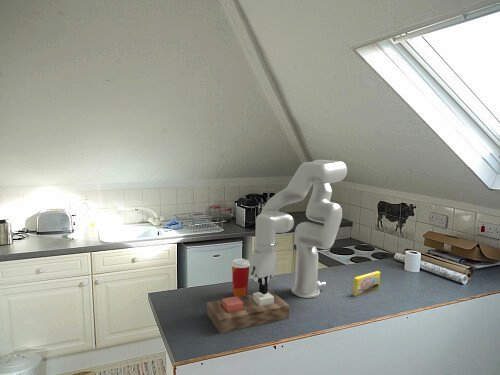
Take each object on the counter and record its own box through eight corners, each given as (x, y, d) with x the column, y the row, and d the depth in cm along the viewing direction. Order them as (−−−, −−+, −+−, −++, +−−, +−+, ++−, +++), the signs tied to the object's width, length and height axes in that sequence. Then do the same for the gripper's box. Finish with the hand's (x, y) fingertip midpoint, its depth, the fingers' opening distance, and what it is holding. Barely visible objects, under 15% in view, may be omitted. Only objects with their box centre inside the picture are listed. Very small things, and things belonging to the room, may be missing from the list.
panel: (271, 302, 151) (271, 291, 150) (288, 317, 139) (289, 305, 138) (207, 315, 139) (207, 302, 138) (219, 333, 127) (220, 319, 126)
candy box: (356, 296, 159) (357, 278, 157) (352, 295, 160) (353, 277, 159) (379, 289, 168) (380, 271, 166) (375, 287, 169) (376, 270, 168)
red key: (236, 303, 139) (236, 296, 139) (242, 310, 134) (243, 302, 134) (221, 306, 137) (222, 298, 136) (227, 313, 132) (227, 305, 131)
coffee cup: (239, 288, 164) (239, 256, 162) (253, 294, 159) (254, 261, 156) (226, 294, 157) (226, 261, 155) (240, 300, 152) (241, 266, 150)
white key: (266, 297, 145) (266, 290, 145) (273, 304, 140) (274, 296, 139) (252, 300, 142) (253, 293, 142) (259, 307, 137) (260, 299, 137)
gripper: (272, 241, 145) (270, 285, 148) (243, 247, 136) (242, 294, 138) (285, 246, 140) (283, 291, 142) (256, 253, 130) (254, 301, 133)
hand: (263, 292), depth 140 cm, fingers closed
